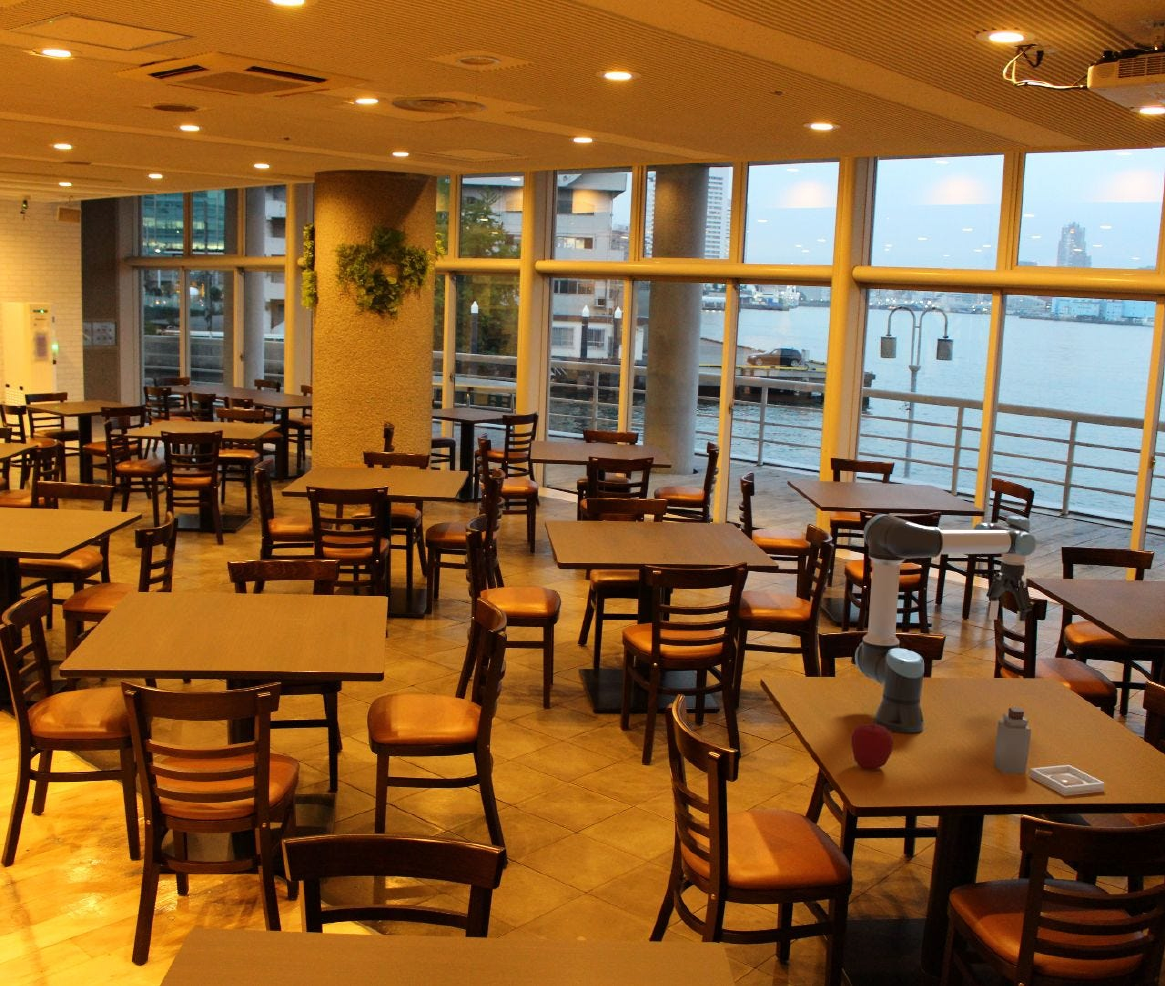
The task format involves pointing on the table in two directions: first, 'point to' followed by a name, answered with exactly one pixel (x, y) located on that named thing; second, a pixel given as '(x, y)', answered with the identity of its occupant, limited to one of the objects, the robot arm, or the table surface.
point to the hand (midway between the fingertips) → (1005, 624)
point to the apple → (871, 746)
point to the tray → (1067, 780)
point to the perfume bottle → (1012, 743)
